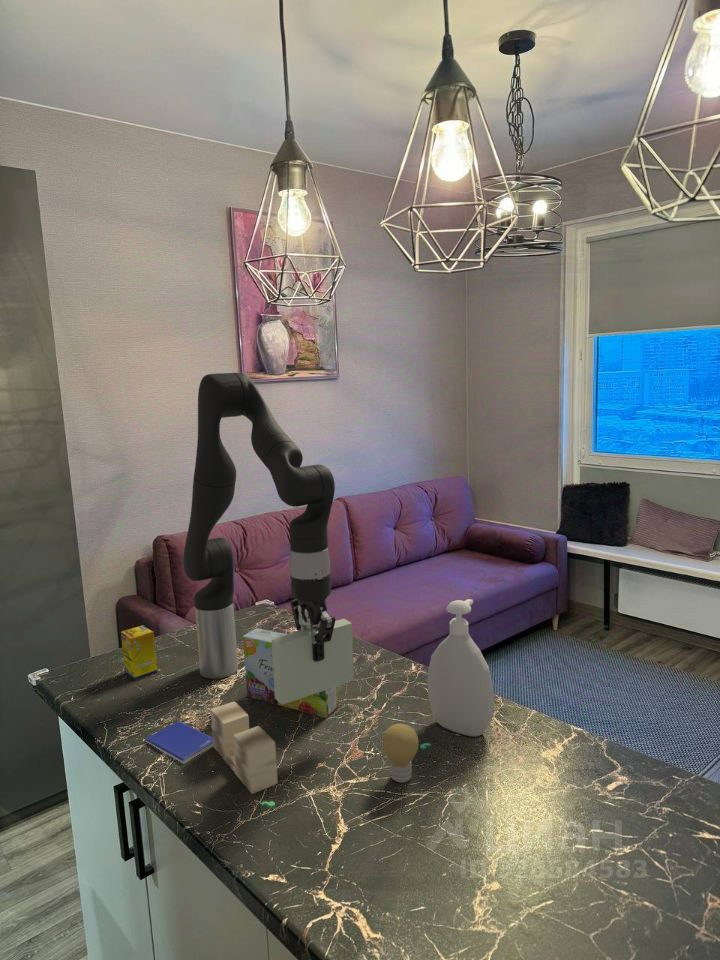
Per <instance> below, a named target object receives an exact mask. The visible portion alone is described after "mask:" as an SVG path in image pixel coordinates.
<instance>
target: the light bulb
mask: <svg viewBox="0 0 720 960" xmlns="http://www.w3.org/2000/svg"><path fill="white" fill-rule="evenodd" d="M381 746H382V750H383V752H384V754H385V756H387V758H388V759H389V761H390V777H391V779H392V780H393V781H395V782H396V783H400V784H401V783H402V784H403V783H406V782H408V781H410V780H411V778H412V760H413V758H414V757H415V756H416V754H417V752H418V749H419V737H418V734H417V732H416V731H415V729H414V728H413V727H411V726H410V725H408V724H406V723H405V724H404V723H396V724H392V725H390V726H389V727H388V728H387V729H386V730H385V732H384V733H383V735H382V740H381Z"/></svg>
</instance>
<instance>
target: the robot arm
mask: <svg viewBox="0 0 720 960" xmlns="http://www.w3.org/2000/svg"><path fill="white" fill-rule="evenodd" d="M198 387H199V388H198V393H197V394H198V395H197V442H196V444H197V445H196V454H195V455H196V456H195V465H194V473H193V479H192V480H193V482H192V494H191V507H190V508H191V510H190V517H189V518H190V519H189V524H188V528H187V534H186V539H185V543H184V549H183V559H182V560H183V568H184V569H183V570H184V573H185V575H186V577H187V578H188V579H189V580H190V581H192V582H199V581H204V580H209V582H208V583H207V584H206V585H205V586H203V587H202V588H201V589H200V590H198V591H197V592H196V593H195V594H194V597H193V605H194V616H195V627H196V637H197V638H196V639H197V640H196V641H197V653H198V663H199V664H198V665H199V673H200V676H202V677H203V678H205V679H213V680H216V679H223V678H226V677H229V676H232V675H233V674H235V673H236V672H238V669H239V665H238V664H239V663H238V648H237V637H236V635H237V634H236V621H235V620H236V619H235V610H234V609H235V608H234V594H235V593H234V592H235V583H234V582H235V579H234V573H235V572H234V567H235V565H234V564H235V563H234V555H233V549H232V546H231V544H230V542H229V541H228V540H227V539H226V538H225V537H214V538H209V537H210V536H211V535H210V534H211V532H212V530H213V529H214V527H215V526H216V524H217V523H218V522H219V521H220V519H221V518H222V517H223V515H225V513H226V511H227V510H228V508H229V507H230V505H231V504H232V501H233V500H234V496H235V489H236V481H237V469H236V465H235V464H234V461H233V459H232V458H231V456H230V454H229V452H228V451H227V449H226V447H225V446H224V444H223V441H222V439H221V434H220V431H221V430H220V429H221V428H220V427H221V420H222V418H224V419H225V418H233V417H234V418H235V417H242V416H244V417H245V418H247V419H248V420H249V421H250V422H251V425H252V427H251V433H250V439H251V440H250V441H251V445H252V449H253V451H254V453H255V455H256V456H257V457H258V458H259V460H260V461H261V462H262V463H263V465H264V466H265V467H266V468H267V469H268V471H269V473H270V476H271V478H272V481H273V482H274V485H275V489H276V492H277V495H278V497H279V499H280V500H281V501H282V503H284V504H286V505H287V506H290V507H296V508H297V507H302V506H306V508H305V510H304V512H303V513H301V514H299V515H298V516H296V517H293V519H291V521H290V522H289V528H288V529H289V544H290V545H289V546H290V548H289V550H290V552H289V553H290V554H289V572H290V573H289V574H290V589H291V590H290V593H291V597H292V598H293V599H292V600H290V608H291V612H292V616H293V620H294V625H295V628H296V630H297V631H301V630H305V629H308V631H309V632H311V637H312V642H313V643H312V651H313V660H314V661H315V662H318V661H321V660H323V659H324V643H325V642H329V641H331V637H332V633H333V629H334V625H335V621H336V617H335V615H331V616H330V615H329V614H328V609H327V602H326V599H327V598H328V597H329V596H330V595H331V593H332V587H331V586H332V585H331V584H332V583H331V560H330V554H329V544H328V543H329V541H328V539H329V538H328V523H329V519H330V515H331V511H332V506H333V502H334V499H335V498H334V496H335V490H336V486H335V485H336V484H335V483H336V482H335V479H334V476H333V473H332V472H331V470H330V469H329V468H328V467H327V466H325V465H324V464H312V465H311V464H310V465H305V466H302V464H303V453H302V451H301V449H300V448H299V447H298V445H296V443H295V442H294V441H293V440H292V439H291V438H290V436H288V434H287V433H286V432H285V431H284V430H283V429H282V427H281V426H280V425H279V423H278V421H276V419H275V418H274V415H273V413H272V412H271V409H270V408H269V407H268V404H267V402H266V401H265V400H264V398H263V395H262V394H261V393H260V391H259V389H258V388H257V386H256V384H255V383H254V381H253V380H252V379H251V377H249V376H248V375H247V374H245V373H242V372H241V373H240V372H226V373H225V372H223V373H222V372H220V373H219V372H217V373H209V374H206V375H204V376H203V377H202V378H201V380H200V383H199V386H198ZM317 631H318V635H317V636H316V632H317Z"/></svg>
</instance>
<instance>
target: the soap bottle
mask: <svg viewBox="0 0 720 960" xmlns="http://www.w3.org/2000/svg"><path fill="white" fill-rule="evenodd" d="M473 604H474V599H470V598H467V599H465V600H462V599H461V600H460V599H456V600H453V601H451V602H450V603H448V605H447V606H446V609H445V610H446V612H447V613H450V614H452V615H455V617H454V618H451V620H450V621H449V634H448V636H446V637H445V639H443V640H442V641H441V642H440V643H439V645H438V646H437V648H436V649H435V651H433V653H432V655H431V656H430V661H429V666H428V669H427V670H428V671H427V696H428V701H429V707H430V710H431V712H432V715H433V716H434V719H435V721H436V722H437V723H438V724H439V726H441V727H443V728H444V729H446V730H448V731H451V732H454V733H456V734H458V735H459V734H460V735H462V736H468V737H479V736H481V735H483V734H484V733H485V732H486V731H487V729H488V727H490V725H491V722H492V720H493V719H492V718H493V715H494V708H495V707H494V704H495V697H494V689H493V681H492V676H491V671H490V667H489V665H488V663H487V660H486V659H485V658H484V655H483V653H482V651H481V649H480V648H479V647H478V645H477V644H476V642H475V641H474V640H473V639H472V636H470V632H469V621H468V620H467V619H466V618H464V617H462V616H463V615H467V614H470V613H471V611H472V607H471V606H472V605H473Z"/></svg>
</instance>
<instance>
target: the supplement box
mask: <svg viewBox="0 0 720 960" xmlns="http://www.w3.org/2000/svg"><path fill="white" fill-rule="evenodd" d="M120 635H121V644H122V645H121V646H122V654H123V665H124V673H125V674H127V675H128V676H129V677H131V679H133V680H134V681H138V680H141V679H143V678H146V677H149V676H152V675H155V674H156V673H158V666H157V665H158V664H157V655H156V645H155V635H154V631H152V630H151V629H149V628H148V627H146V626H145V625H143V624H142V625H140V626H137V627H132V628H129V629H126V630H122V631H121V632H120Z"/></svg>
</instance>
